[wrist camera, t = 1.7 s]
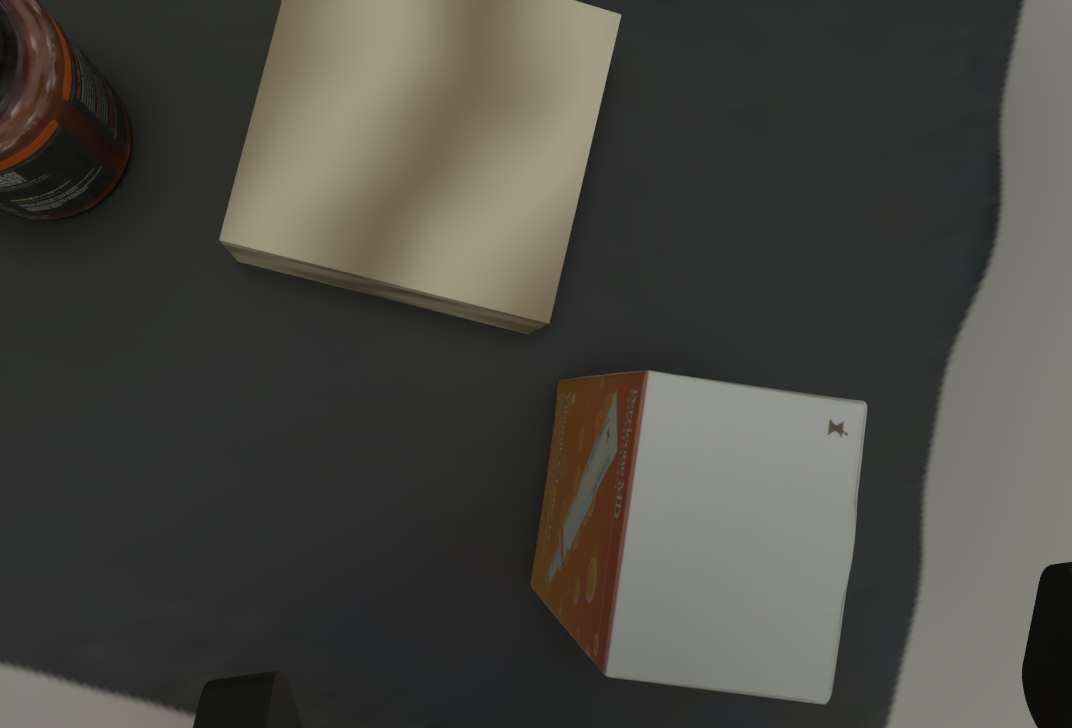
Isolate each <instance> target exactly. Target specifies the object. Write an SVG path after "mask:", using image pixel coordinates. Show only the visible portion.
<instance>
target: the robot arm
mask: <svg viewBox="0 0 1072 728" xmlns="http://www.w3.org/2000/svg"><path fill="white" fill-rule="evenodd" d="M1022 682H1023V689H1024V694H1025V698H1026V702H1027V705H1028V708H1029V711H1030V713H1031V715H1032V718H1033V720H1034V722H1035V724H1036V725H1037V727H1038V728H1072V562H1068V563H1060V564H1053V565H1050V566H1048V567H1046V568H1045V570H1044V571H1043V573H1042V575H1041V577H1040V581H1039V585H1038V590H1037V596H1036V600H1035V605H1034V610H1033V615H1032V621H1031V626H1030V631H1029V636H1028V641H1027V646H1026V651H1025V656H1024V661H1023V667H1022ZM193 728H302V725H301V722H300V718H299V715H298V712H297V708H296V705H295V702H294V698H293V695H292V691H291V688H290V685H289V682H288V679H287V677H286V675H285V673H284V672H283V671H273V672H266V673H259V674H252V675H245V676H238V677H231V678H223V679H216V680H210V681H208V682H207V683H206V685H205V686H204V689H203V691H202V694H201V697H200V702H199V706H198V710H197V714H196V718H195V722H194V726H193Z"/></svg>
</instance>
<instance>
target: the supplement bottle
mask: <svg viewBox="0 0 1072 728" xmlns="http://www.w3.org/2000/svg"><path fill="white" fill-rule="evenodd" d="M130 147H131V134H130V126H129V122H128V118H127V114H126V112H125V109H124V107H123V105H122V103H121V101H120V99H119V97H118V96H117V94H116V92H115V91H114V90H113V88H112V87H111V85H110V84H109V83H108V81H107V80H106V79H105V78H104V76H103V75H102V74H101V73H100V72H99V71H98V69H96V67H95V66H94V65H93V64H92V63H91V61H90V60H89V59H88V58H87V57H86V56H85V54H84V53H83V52H82V51H81V50H80V49H79V47H78V46H77V45H76V44H75V43H74V41H73V40H71V38H70V37H69V36H68V35H67V33H66V32H65V31H64V30H63V29H62V28H61V26H60V25H59V24H58V23H57V22H56V21H55V19H54V18H53V17H52V16H51V15H50V14H49V13H48V11H47V10H46V9H45V8H44V7H43V6H42V4H41V3H40V2H39V1H38V0H0V209H1V210H3V211H5V212H8V213H11V214H14V215H17V216H20V217H25V218H28V219H45V220H49V219H60V218H64V217H68V216H73V215H75V214H78V213H80V212H83V211H85V210H87V209H89V208H91V207H92V206H93V205H96V204H97V203H99V202H100V201H101V200H102V199H103V198H105V197H106V196H107V195H108V194H109V193H110V192H111V190H112V189H113V188H114V187H115V185H116V184H117V182H118V181H119V179H120V177H121V175H122V174H123V172H124V169H125V167H126V164H127V161H128V157H129V153H130Z"/></svg>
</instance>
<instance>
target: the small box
mask: <svg viewBox="0 0 1072 728" xmlns="http://www.w3.org/2000/svg"><path fill="white" fill-rule="evenodd" d="M866 416H867V404H866V402H864V401H859V400H851V399H843V398H835V397H827V396H820V395H813V394H806V393H799V392H792V391H785V390H778V389H771V388H764V387H757V386H750V385H743V384H736V383H729V382H723V381H716V380H709V379H702V378H695V377H689V376H682V375H675V374H668V373H662V372H656V371H634V372H624V373H613V374H606V375H596V376H585V377H578V378H572V379H564V380H560V381H559V382H558V386H557V398H556V408H555V417H554V426H553V434H552V441H551V449H550V456H549V462H548V470H547V478H546V485H545V492H544V499H543V505H542V512H541V518H540V525H539V531H538V538H537V545H536V551H535V557H534V564H533V570H532V576H531V581H530V586H531V588H532V589H533V590H534V591H535V593H536V594H537V595H538V596H539V597H540V599H541V600H542V601H543V602H544V604H545V605H546V606H547V607H548V608H549V610H550V611H551V612H552V613H553V614H554V615H555V617H556V618H557V619H558V620H559V621H560V623H561V624H562V625H563V626H564V627H565V628H566V630H567V631H568V632H569V633H570V635H571V636H572V637H573V638H574V639H575V640H576V642H577V643H578V644H579V645H580V647H581V648H582V649H583V650H584V651H585V653H586V654H587V655H588V656H589V657H590V658H591V660H592V661H593V662H594V663H595V664H596V666H597V667H598V668H599V669H600V670H601V672H602V673H603V674H604V675H605V676H607V677H611V678H619V679H627V680H635V681H643V682H651V683H659V684H667V685H674V686H682V687H690V688H698V689H706V690H714V691H722V692H730V693H738V694H746V695H754V696H762V697H770V698H777V699H785V700H793V701H801V702H808V703H816V704H827V703H828V701H829V700H830V697H831V694H832V688H833V681H834V675H835V669H836V661H837V654H838V647H839V640H840V633H841V625H842V617H843V610H844V603H845V596H846V589H847V584H848V578H849V573H850V568H851V563H852V557H853V549H854V541H855V529H856V517H857V496H858V487H859V478H860V468H861V461H862V451H863V440H864V433H865V424H866Z"/></svg>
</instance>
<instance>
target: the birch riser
mask: <svg viewBox="0 0 1072 728" xmlns="http://www.w3.org/2000/svg"><path fill="white" fill-rule="evenodd" d="M620 18H621V14H617V13H614V12H611V11H607V10H604V9H601V8H597V7H594V6H591V5H588V4H584V3H581V2H578V1H574V0H282V3H281V7H280V11H279V15H278V18H277V22H276V26H275V30H274V34H273V37H272V41H271V45H270V49H269V53H268V56H267V60H266V64H265V68H264V72H263V75H262V79H261V83H260V87H259V91H258V94H257V98H256V102H255V106H254V110H253V113H252V117H251V121H250V125H249V129H248V132H247V136H246V140H245V144H244V148H243V151H242V155H241V159H240V163H239V167H238V170H237V174H236V178H235V182H234V186H233V189H232V193H231V197H230V201H229V205H228V208H227V212H226V216H225V220H224V223H223V227H222V231H221V235H220V239H219V240H220V242H221V243H222V244H223V245H224V246H225V247H226V248H227V249H228V251H229V252H230V253H231V254H232V255H233V256H234V257H235V259H236V260H237V261H238V262H242V263H246V264H250V265H254V266H258V267H262V268H266V269H270V270H274V271H278V272H282V273H286V274H290V275H294V276H298V277H302V278H306V279H309V280H313V281H317V282H321V283H325V284H329V285H333V286H337V287H341V288H345V289H349V290H353V291H357V292H361V293H365V294H369V295H373V296H377V297H381V298H385V299H389V300H393V301H397V302H401V303H405V304H409V305H413V306H417V307H421V308H425V309H429V310H433V311H437V312H441V313H445V314H449V315H453V316H457V317H461V318H465V319H469V320H473V321H477V322H481V323H485V324H489V325H493V326H497V327H501V328H505V329H509V330H513V331H517V332H521V333H525V334H529V333H531V332H533V331H535V330H537V329H539V328H541V327H543V326H545V325H548V324H549V323H550V318H551V314H552V310H553V306H554V301H555V297H556V293H557V288H558V284H559V280H560V276H561V271H562V267H563V263H564V258H565V254H566V250H567V246H568V241H569V237H570V233H571V228H572V224H573V220H574V216H575V211H576V207H577V203H578V198H579V194H580V190H581V186H582V181H583V177H584V173H585V168H586V164H587V160H588V156H589V151H590V147H591V143H592V138H593V134H594V130H595V126H596V121H597V117H598V113H599V108H600V104H601V100H602V96H603V91H604V87H605V83H606V78H607V74H608V70H609V66H610V61H611V57H612V53H613V48H614V44H615V40H616V36H617V31H618V27H619V23H620Z"/></svg>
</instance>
